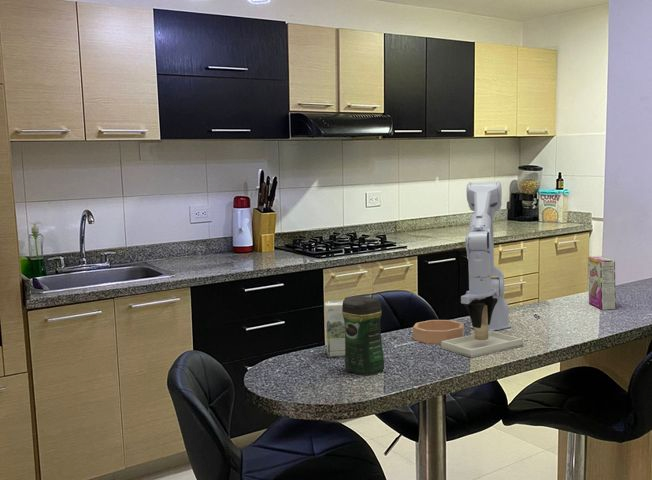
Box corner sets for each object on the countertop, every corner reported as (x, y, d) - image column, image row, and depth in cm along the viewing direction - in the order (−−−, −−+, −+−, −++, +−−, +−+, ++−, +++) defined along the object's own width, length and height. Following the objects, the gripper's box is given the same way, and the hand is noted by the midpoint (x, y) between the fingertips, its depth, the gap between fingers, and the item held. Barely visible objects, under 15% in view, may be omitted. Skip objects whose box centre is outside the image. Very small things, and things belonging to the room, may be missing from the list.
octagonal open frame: (442, 329, 197) (442, 317, 196) (473, 337, 184) (473, 325, 184) (405, 336, 190) (404, 325, 190) (434, 346, 178) (434, 333, 178)
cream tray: (491, 337, 184) (491, 330, 184) (523, 346, 173) (522, 338, 173) (441, 348, 175) (441, 341, 175) (471, 358, 165) (471, 350, 165)
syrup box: (347, 351, 178) (345, 299, 177) (349, 356, 172) (346, 303, 171) (327, 352, 178) (324, 300, 176) (327, 358, 172) (324, 304, 171)
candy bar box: (587, 304, 221) (586, 256, 220) (602, 303, 221) (601, 255, 220) (601, 310, 210) (600, 260, 209) (616, 309, 210) (616, 259, 208)
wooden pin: (479, 336, 177) (478, 303, 176) (491, 337, 174) (489, 305, 173) (472, 338, 174) (470, 306, 173) (483, 340, 171) (482, 307, 171)
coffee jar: (390, 370, 158) (386, 296, 156) (366, 378, 153) (362, 301, 151) (363, 363, 165) (360, 291, 164) (340, 370, 160) (335, 296, 159)
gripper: (483, 271, 180) (484, 319, 181) (450, 278, 171) (452, 329, 172) (505, 273, 175) (506, 322, 176) (473, 280, 165) (474, 332, 167)
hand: (481, 325), depth 174 cm, fingers closed on wooden pin, 4 cm apart
